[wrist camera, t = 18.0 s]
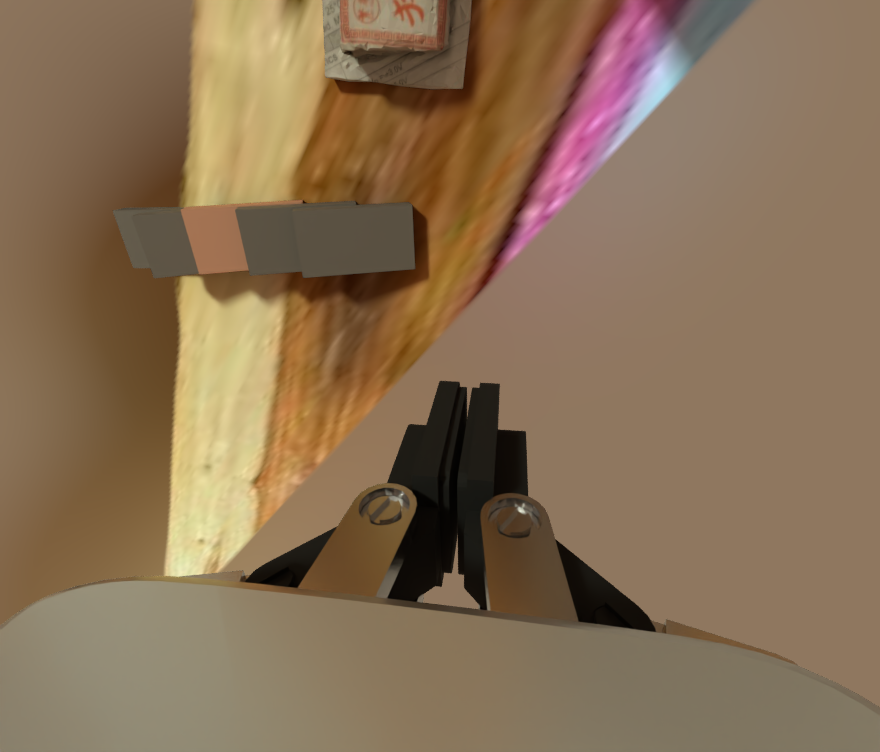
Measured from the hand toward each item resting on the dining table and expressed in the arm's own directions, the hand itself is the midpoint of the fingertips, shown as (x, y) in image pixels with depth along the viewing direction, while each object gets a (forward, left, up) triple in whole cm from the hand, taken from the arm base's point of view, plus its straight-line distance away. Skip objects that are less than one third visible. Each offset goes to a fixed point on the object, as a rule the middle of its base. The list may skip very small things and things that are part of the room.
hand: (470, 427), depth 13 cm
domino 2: (+12, 0, -26) cm, 29 cm away
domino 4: (+20, 0, -26) cm, 33 cm away
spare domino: (+16, 0, -26) cm, 31 cm away
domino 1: (+7, 0, -26) cm, 27 cm away
